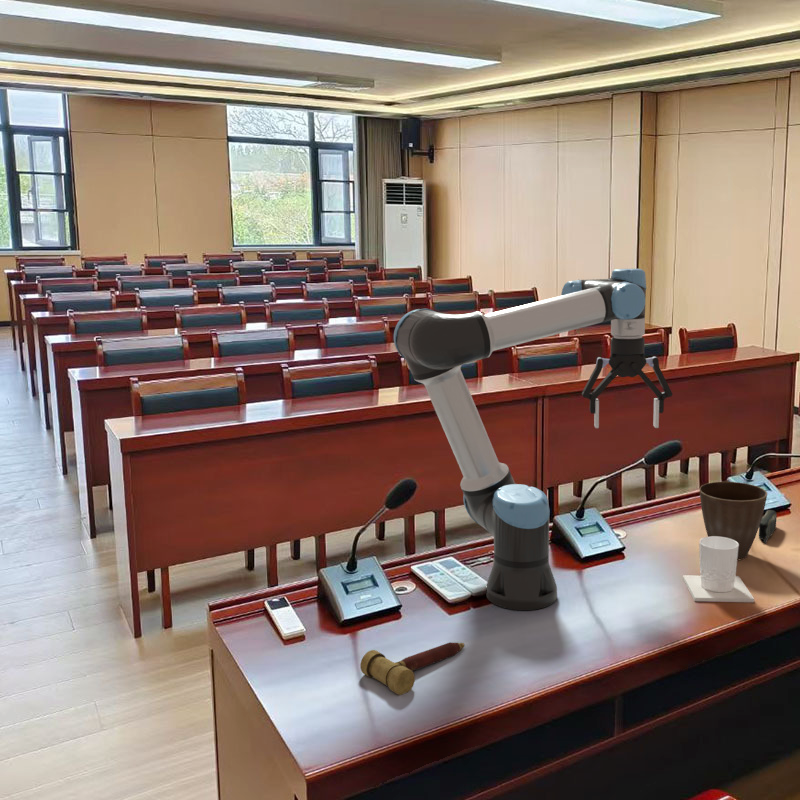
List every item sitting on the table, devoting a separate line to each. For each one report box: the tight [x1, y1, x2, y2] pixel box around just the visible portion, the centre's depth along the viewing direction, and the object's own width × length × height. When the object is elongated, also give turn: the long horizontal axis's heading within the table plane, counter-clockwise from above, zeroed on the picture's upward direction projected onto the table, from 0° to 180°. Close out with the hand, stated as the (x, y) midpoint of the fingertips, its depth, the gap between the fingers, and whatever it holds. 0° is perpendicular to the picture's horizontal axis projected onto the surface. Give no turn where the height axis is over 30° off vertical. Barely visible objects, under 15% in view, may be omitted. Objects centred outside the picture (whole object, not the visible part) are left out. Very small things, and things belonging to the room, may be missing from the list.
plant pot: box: [699, 481, 768, 560], centre depth 202 cm, size 15×15×16 cm
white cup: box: [698, 536, 739, 592], centre depth 183 cm, size 8×8×10 cm
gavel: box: [359, 641, 465, 696], centre depth 155 cm, size 21×5×10 cm
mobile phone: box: [758, 509, 777, 544], centre depth 216 cm, size 5×3×15 cm
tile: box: [682, 574, 755, 603], centre depth 184 cm, size 12×12×1 cm
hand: (626, 426), depth 200 cm, fingers open, 13 cm apart
